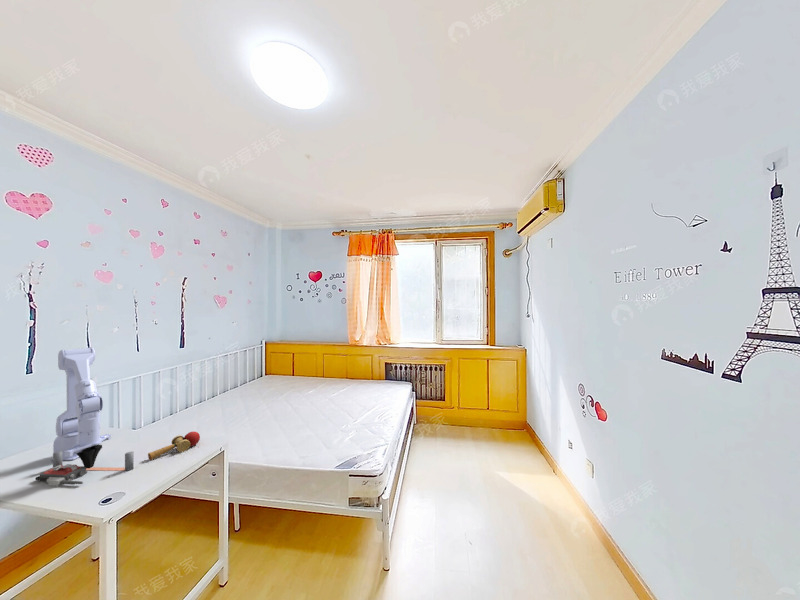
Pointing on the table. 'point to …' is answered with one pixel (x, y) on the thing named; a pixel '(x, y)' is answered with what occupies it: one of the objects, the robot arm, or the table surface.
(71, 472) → the walkie-talkie
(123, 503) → the table surface
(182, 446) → the kendama
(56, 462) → the finish line
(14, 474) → the table surface
